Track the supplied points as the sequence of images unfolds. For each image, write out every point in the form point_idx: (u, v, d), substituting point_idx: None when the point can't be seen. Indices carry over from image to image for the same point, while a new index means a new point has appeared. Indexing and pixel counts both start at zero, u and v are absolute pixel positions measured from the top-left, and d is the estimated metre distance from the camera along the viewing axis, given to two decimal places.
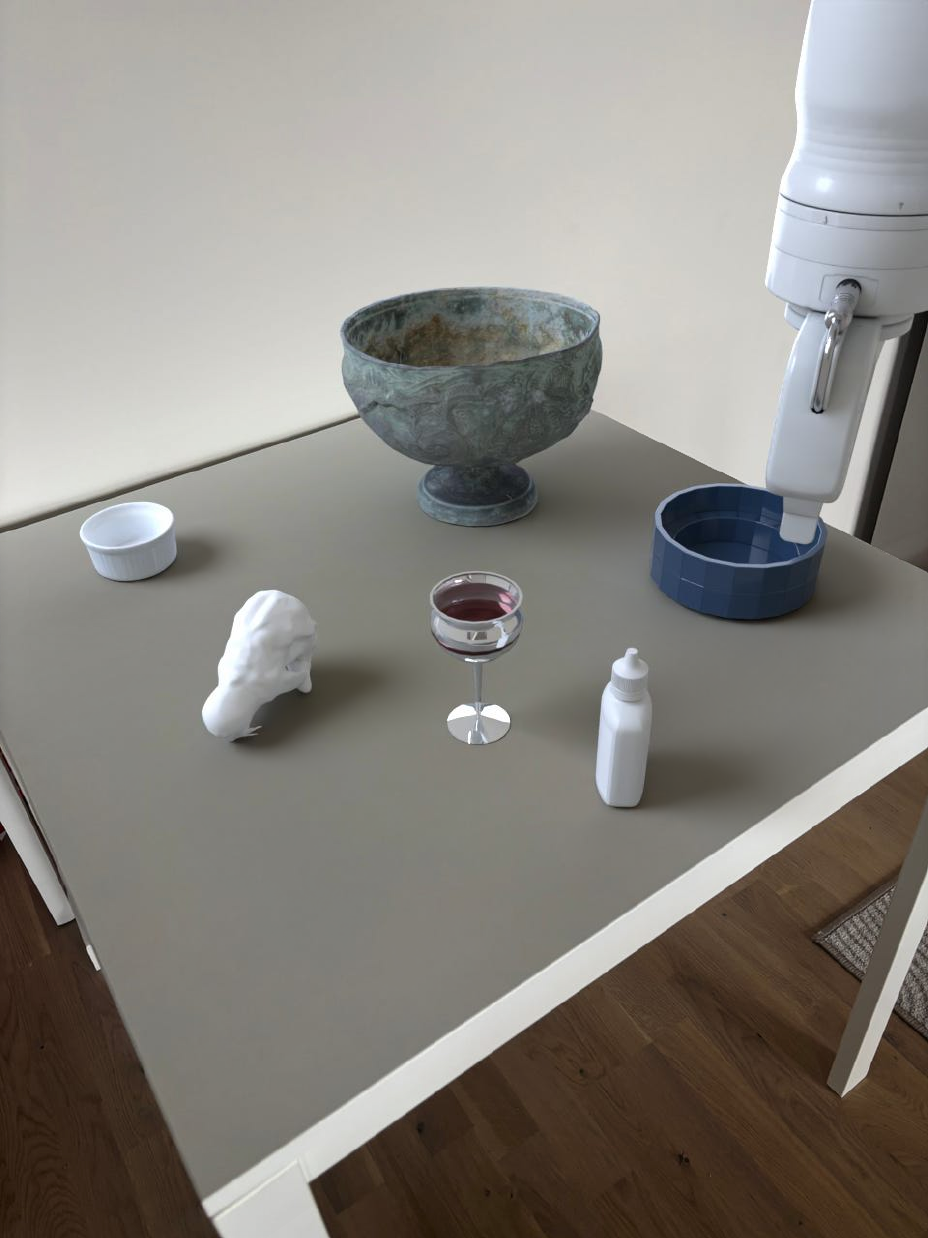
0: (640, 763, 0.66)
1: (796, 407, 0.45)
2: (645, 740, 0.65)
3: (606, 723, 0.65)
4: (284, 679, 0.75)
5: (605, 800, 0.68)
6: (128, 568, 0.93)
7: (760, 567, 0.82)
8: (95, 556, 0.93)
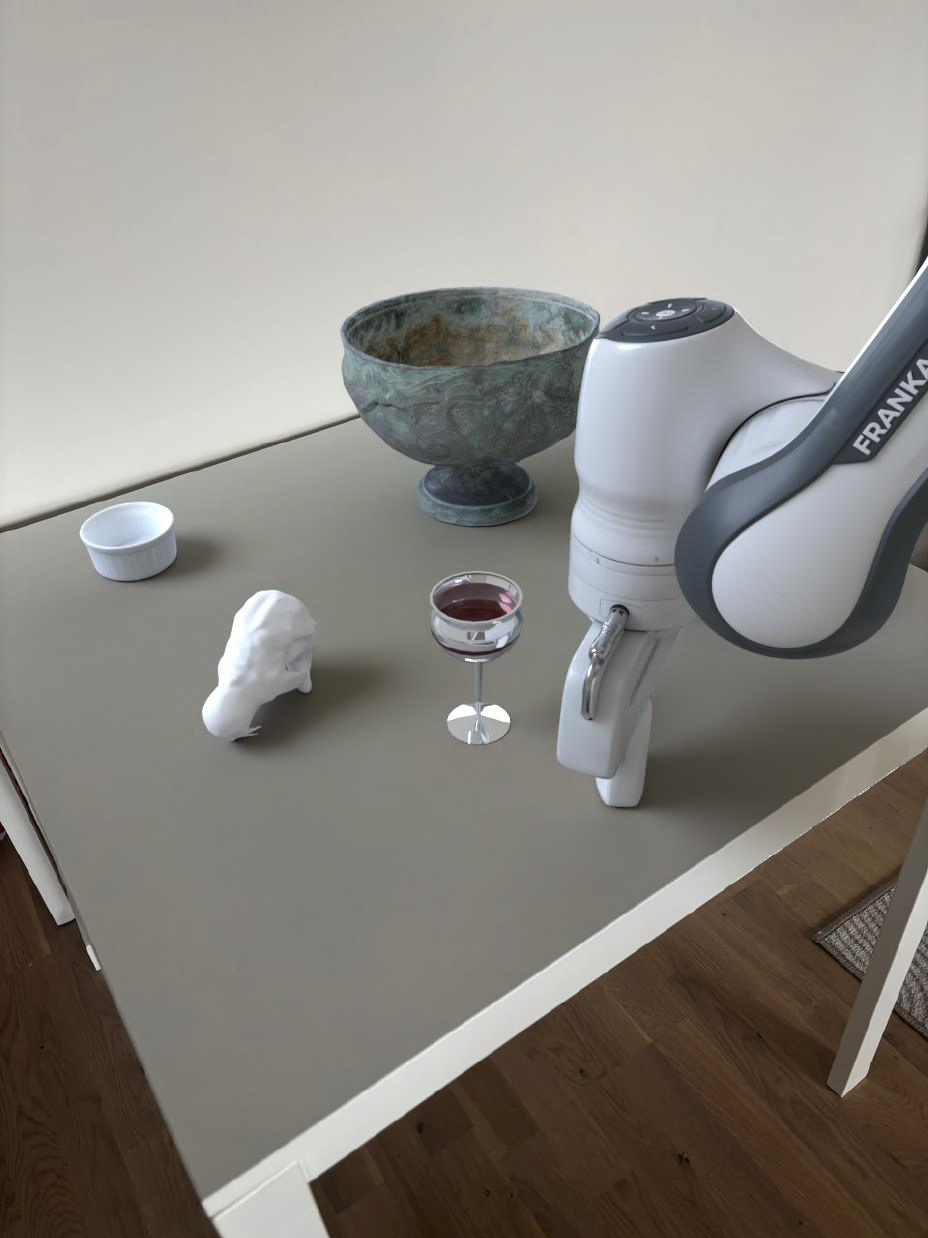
0: (639, 763, 0.66)
1: (572, 713, 0.56)
2: (645, 740, 0.65)
3: None
4: (284, 679, 0.75)
5: (605, 800, 0.68)
6: (128, 568, 0.93)
7: None
8: (95, 556, 0.93)
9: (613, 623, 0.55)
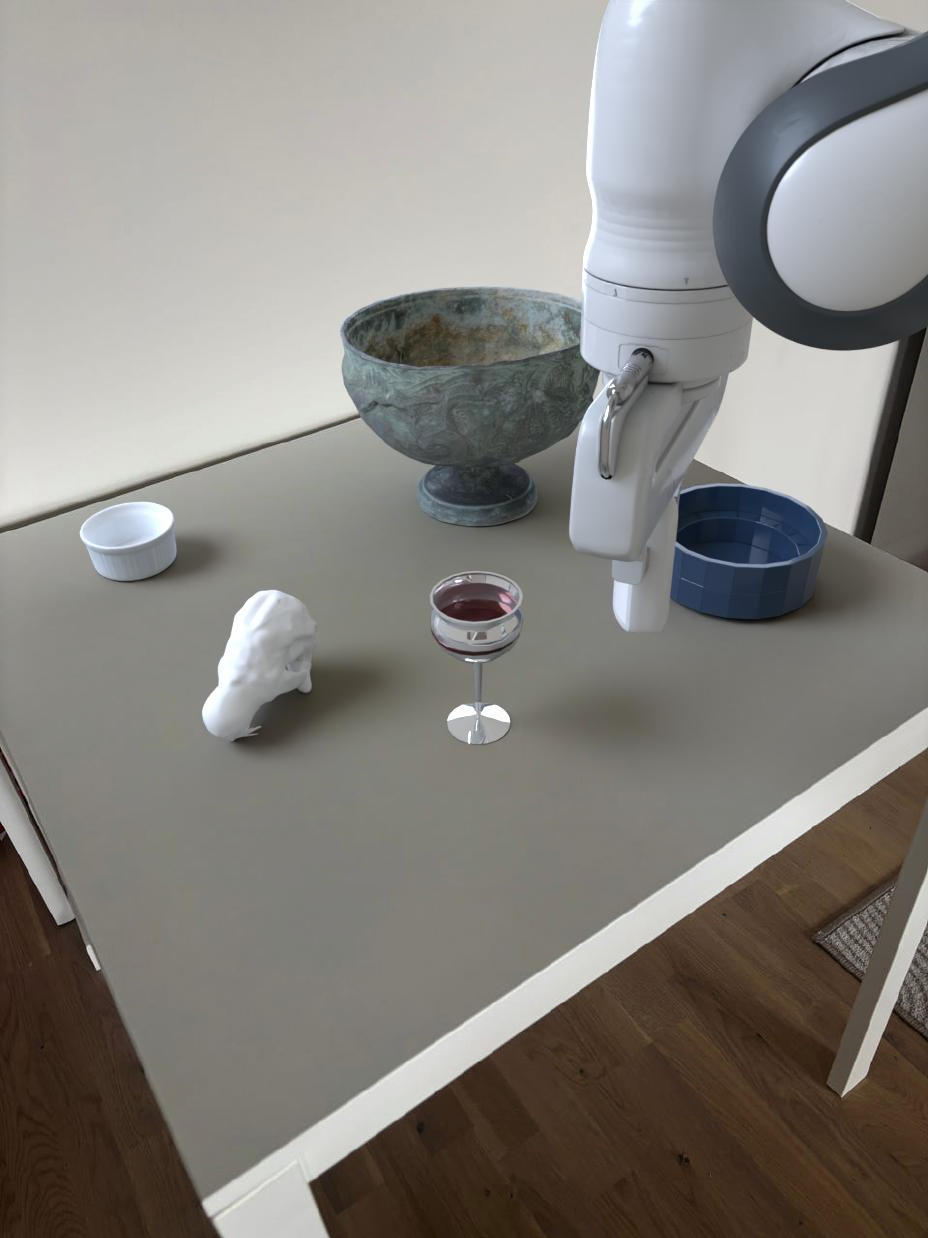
0: (664, 574, 0.57)
1: (588, 473, 0.47)
2: (671, 544, 0.56)
3: None
4: (284, 679, 0.75)
5: (624, 626, 0.59)
6: (128, 568, 0.93)
7: (760, 567, 0.82)
8: (95, 556, 0.93)
9: (635, 363, 0.46)
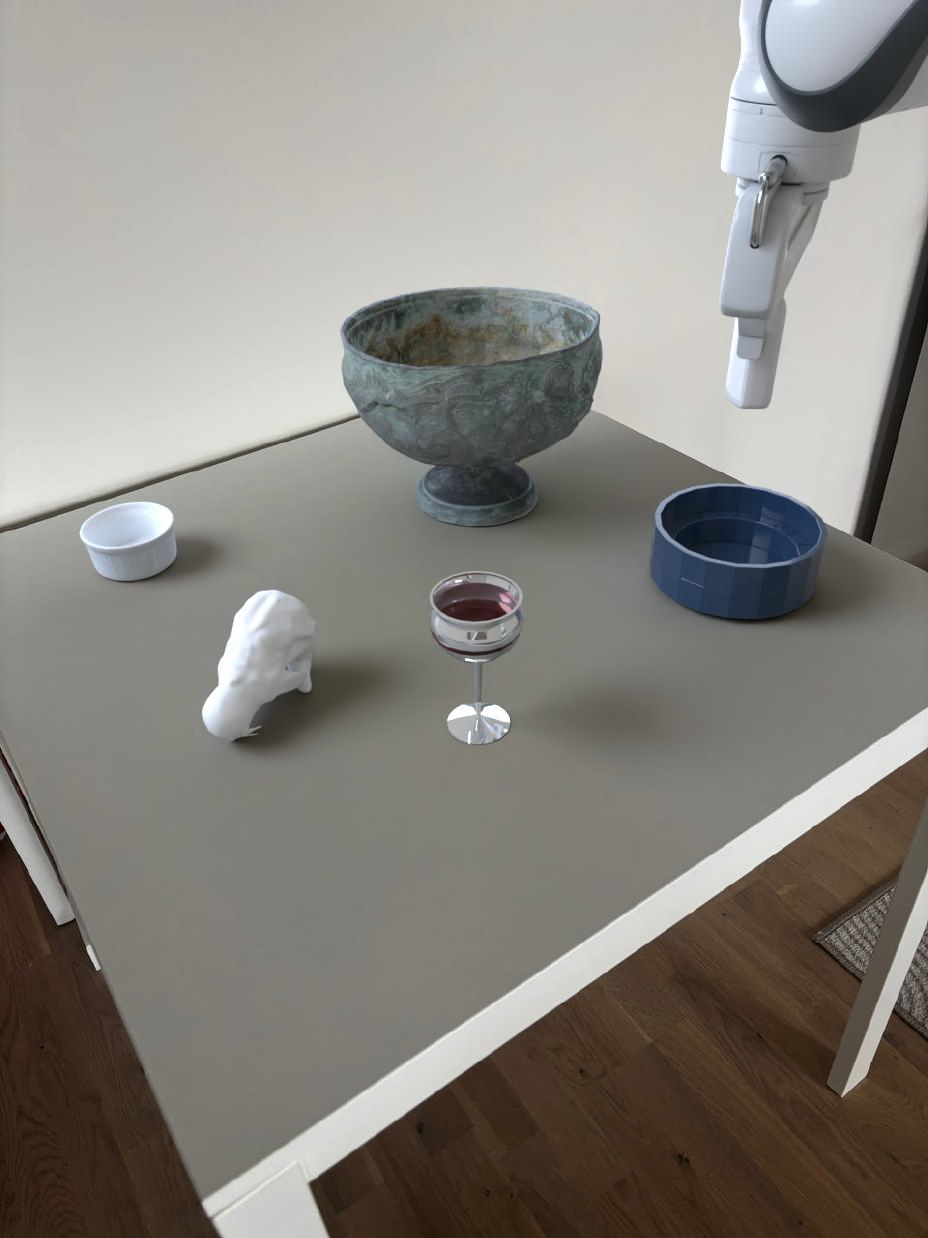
0: (775, 355, 0.73)
1: (740, 244, 0.62)
2: (781, 329, 0.72)
3: None
4: (284, 679, 0.75)
5: (738, 403, 0.75)
6: (128, 568, 0.93)
7: (760, 567, 0.82)
8: (95, 556, 0.93)
9: (777, 162, 0.62)
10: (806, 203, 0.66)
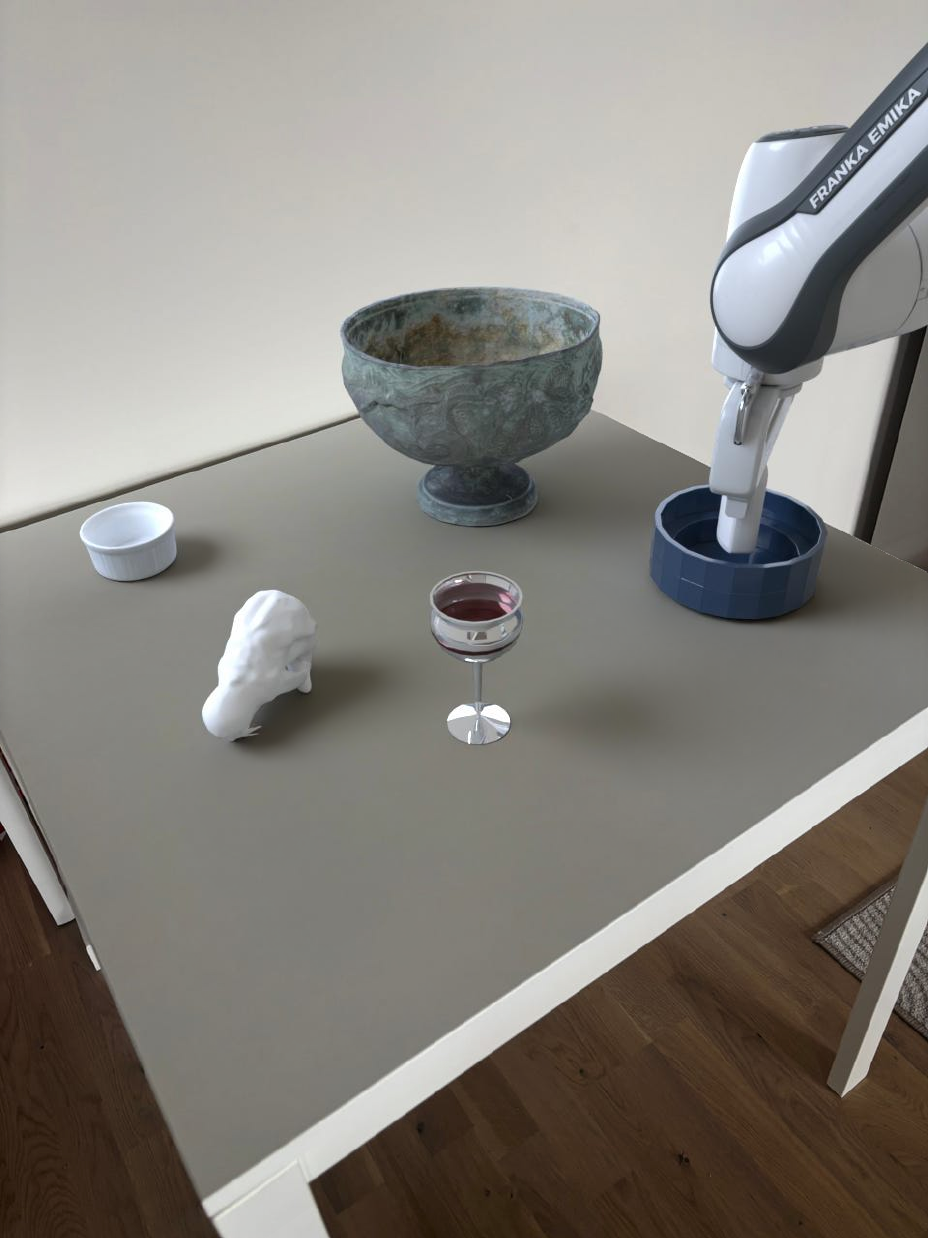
0: (758, 512, 0.85)
1: (725, 441, 0.75)
2: (763, 492, 0.84)
3: None
4: (284, 679, 0.75)
5: (727, 549, 0.87)
6: (128, 568, 0.93)
7: (760, 567, 0.82)
8: (95, 556, 0.93)
9: (756, 373, 0.74)
10: (783, 397, 0.78)
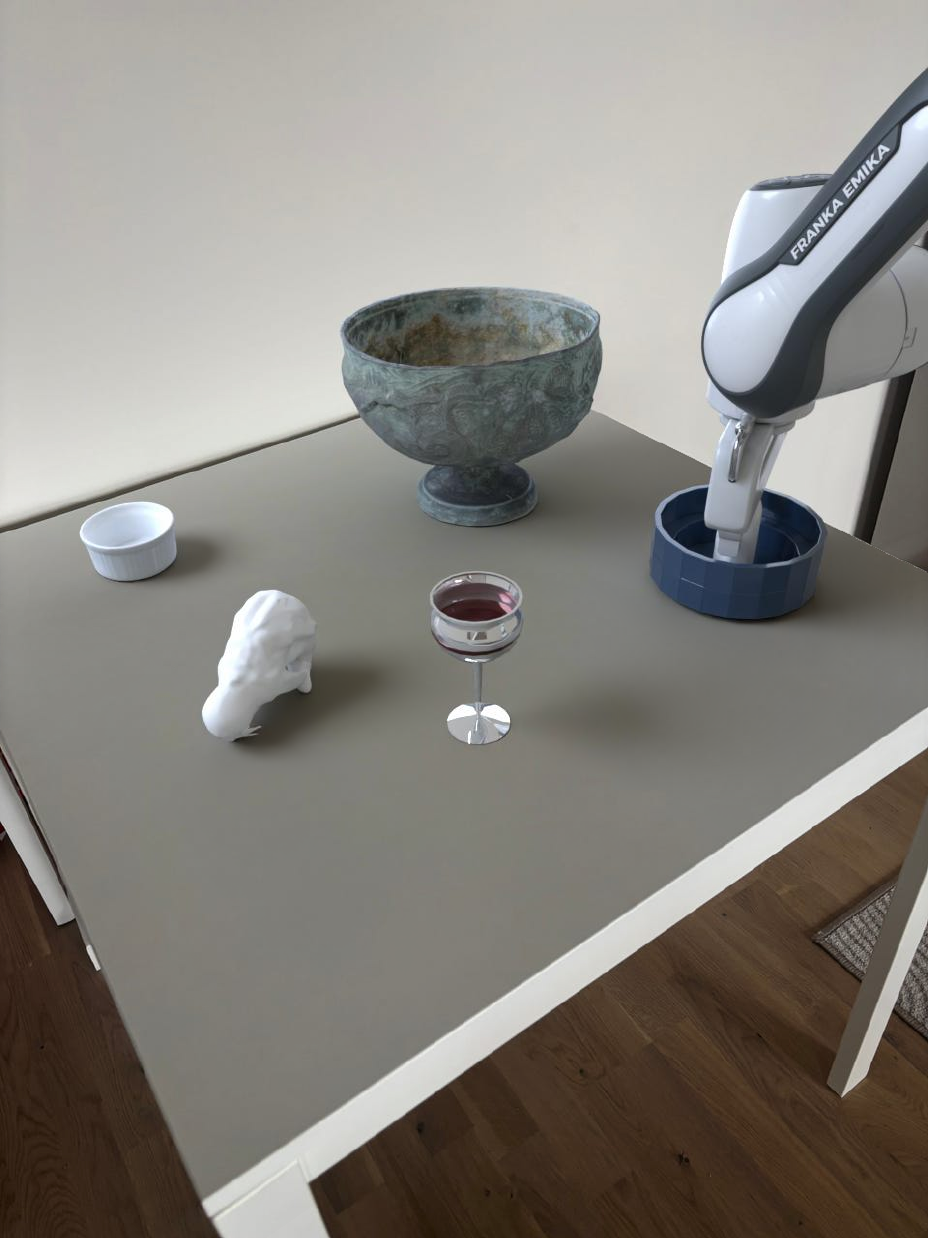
0: (752, 547, 0.87)
1: (720, 479, 0.76)
2: (757, 527, 0.86)
3: None
4: (284, 679, 0.75)
5: None
6: (128, 568, 0.93)
7: (760, 567, 0.82)
8: (95, 556, 0.93)
9: None
10: (776, 434, 0.80)
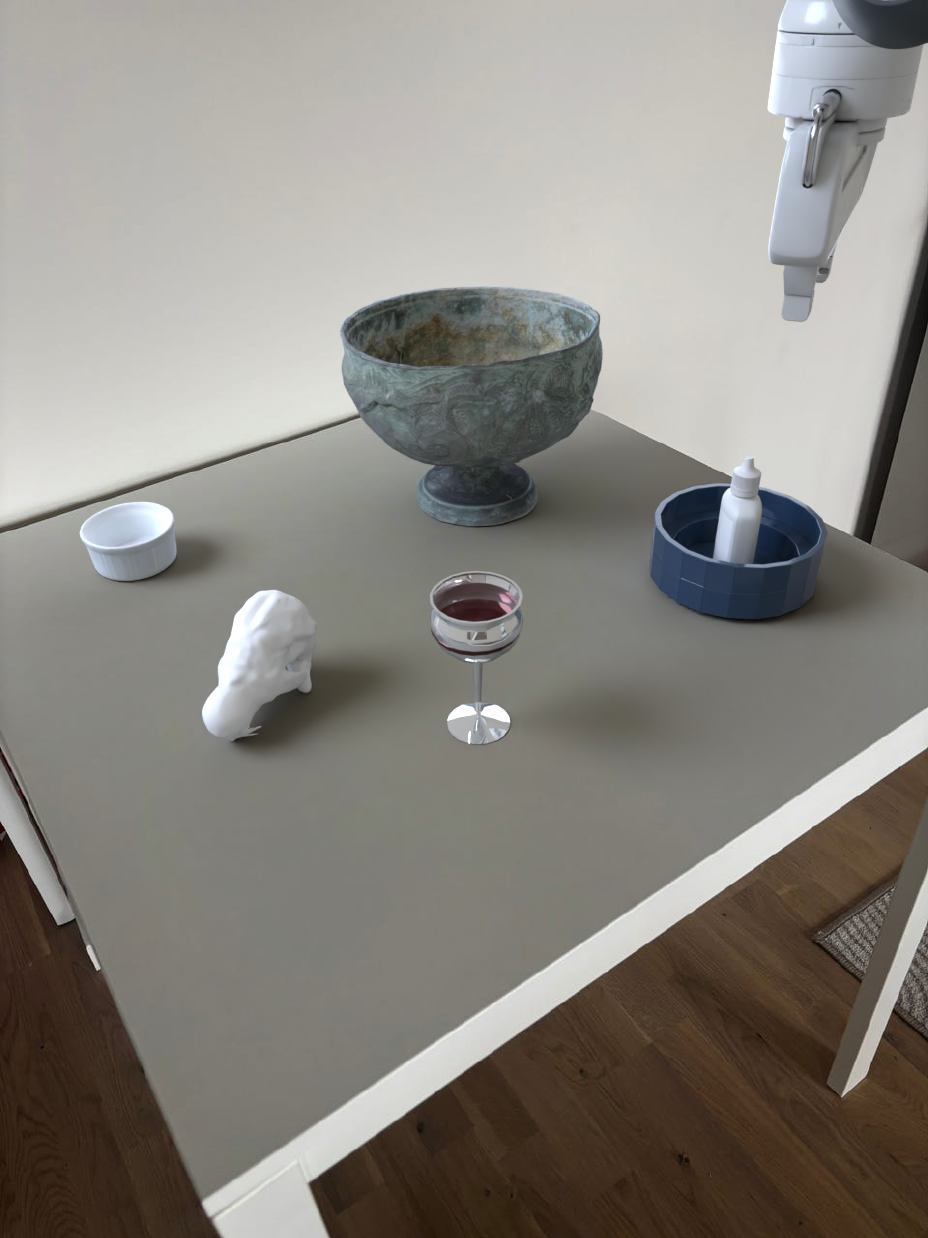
0: (752, 547, 0.87)
1: (791, 184, 0.58)
2: (757, 527, 0.86)
3: (727, 515, 0.86)
4: (284, 679, 0.75)
5: None
6: (128, 568, 0.93)
7: (760, 567, 0.82)
8: (95, 556, 0.93)
9: (831, 95, 0.58)
10: (861, 143, 0.62)
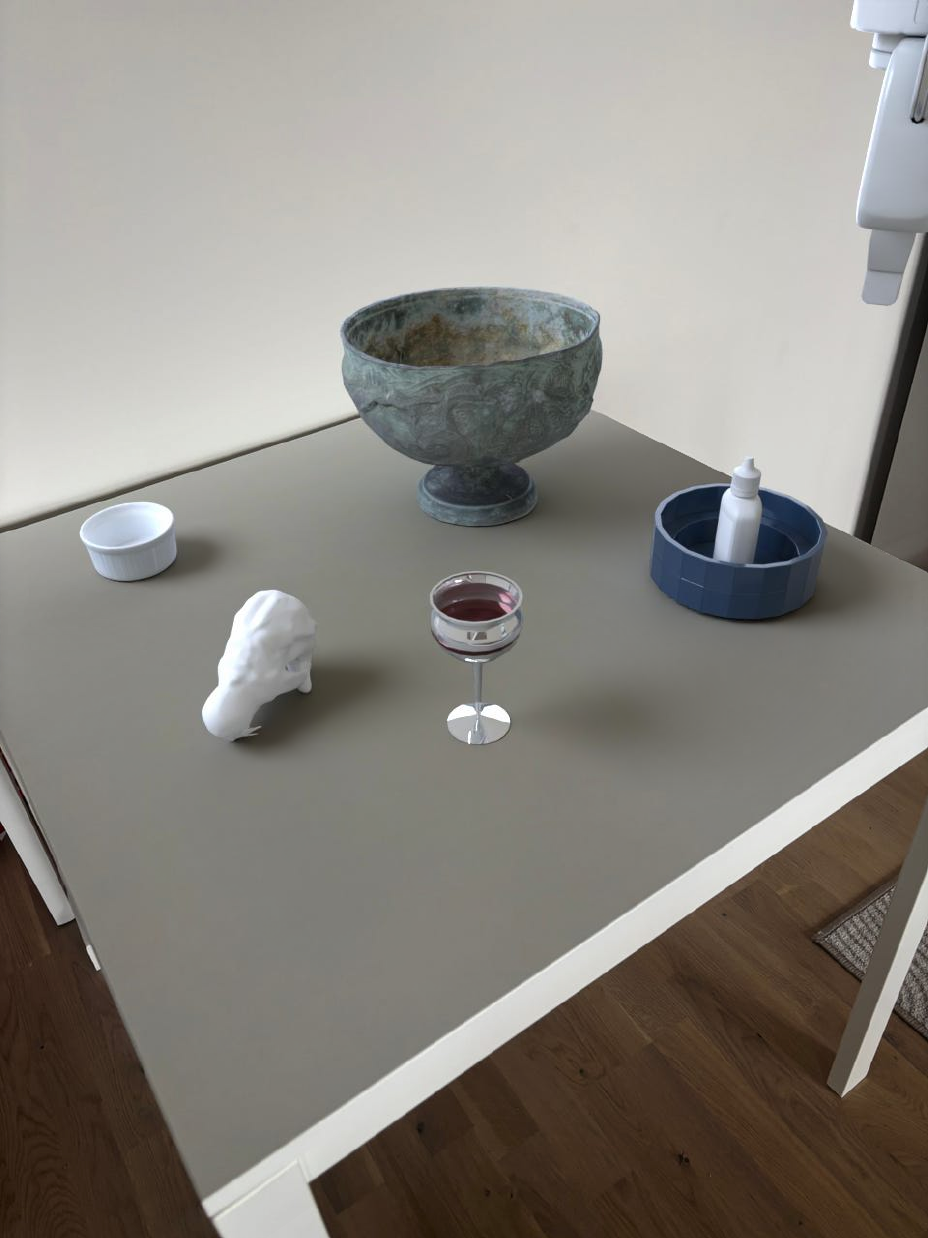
0: (752, 547, 0.87)
1: (895, 118, 0.43)
2: (757, 527, 0.86)
3: (727, 515, 0.86)
4: (284, 679, 0.75)
5: None
6: (128, 568, 0.93)
7: (760, 567, 0.82)
8: (95, 556, 0.93)
9: None
10: None
